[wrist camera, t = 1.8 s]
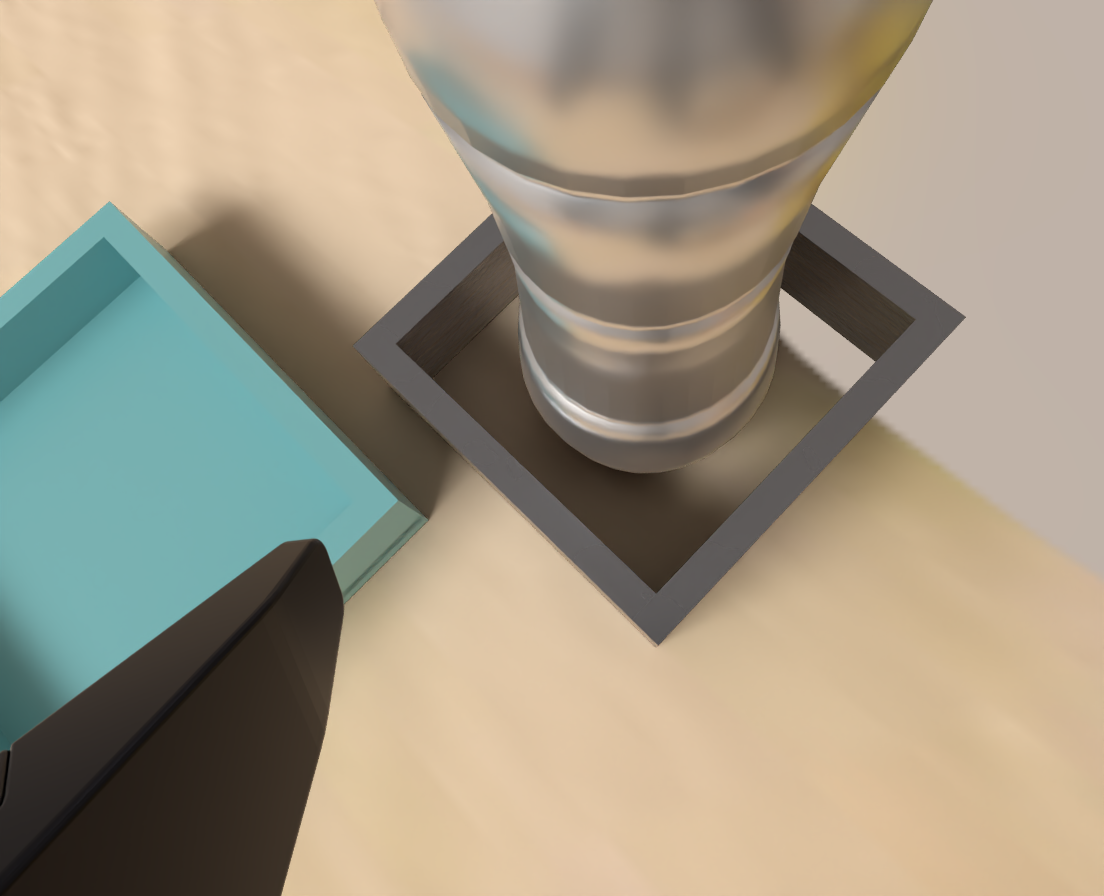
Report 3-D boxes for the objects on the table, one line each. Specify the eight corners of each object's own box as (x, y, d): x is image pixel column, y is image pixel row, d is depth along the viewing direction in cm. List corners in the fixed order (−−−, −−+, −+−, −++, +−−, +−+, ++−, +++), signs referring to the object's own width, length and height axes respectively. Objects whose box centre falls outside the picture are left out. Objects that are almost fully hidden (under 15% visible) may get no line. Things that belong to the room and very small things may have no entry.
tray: (81, 865, 21) (-4, 896, 18) (-149, 532, 24) (-249, 516, 21) (428, 519, 22) (398, 500, 19) (166, 250, 25) (109, 201, 23)
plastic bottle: (519, 480, 22) (-344, -771, 3) (547, 260, 24) (131, -1472, 4) (756, 502, 21) (1912, -1119, 2) (768, 272, 23) (1443, -1829, 4)
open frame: (655, 647, 20) (658, 645, 18) (388, 385, 23) (352, 345, 20) (922, 362, 22) (965, 317, 19) (638, 145, 24) (637, 75, 21)
